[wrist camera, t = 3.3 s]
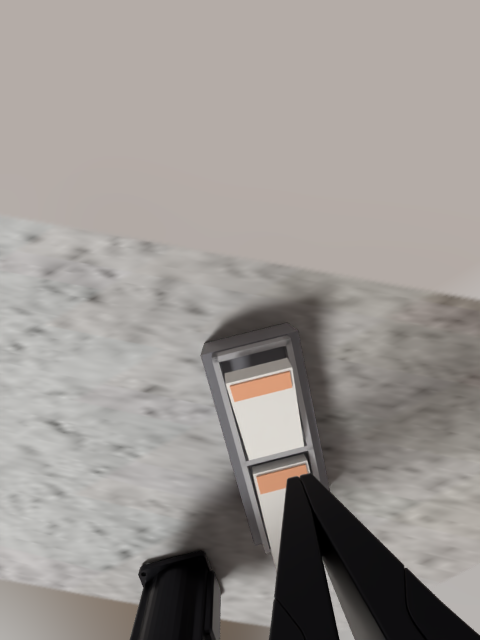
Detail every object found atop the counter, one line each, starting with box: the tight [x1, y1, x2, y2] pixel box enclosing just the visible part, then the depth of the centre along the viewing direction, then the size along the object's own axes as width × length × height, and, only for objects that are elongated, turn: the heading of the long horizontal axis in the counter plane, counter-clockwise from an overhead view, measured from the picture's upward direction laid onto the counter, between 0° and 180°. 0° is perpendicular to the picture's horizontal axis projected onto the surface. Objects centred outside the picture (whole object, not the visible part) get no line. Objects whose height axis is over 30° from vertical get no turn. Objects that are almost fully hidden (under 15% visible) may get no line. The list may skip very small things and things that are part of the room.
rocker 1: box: [225, 358, 304, 460], centre depth 16 cm, size 4×7×1 cm, turn 13°
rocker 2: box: [252, 454, 324, 572], centre depth 18 cm, size 4×7×1 cm, turn 14°
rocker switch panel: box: [201, 323, 330, 554], centre depth 20 cm, size 7×17×4 cm, turn 13°
